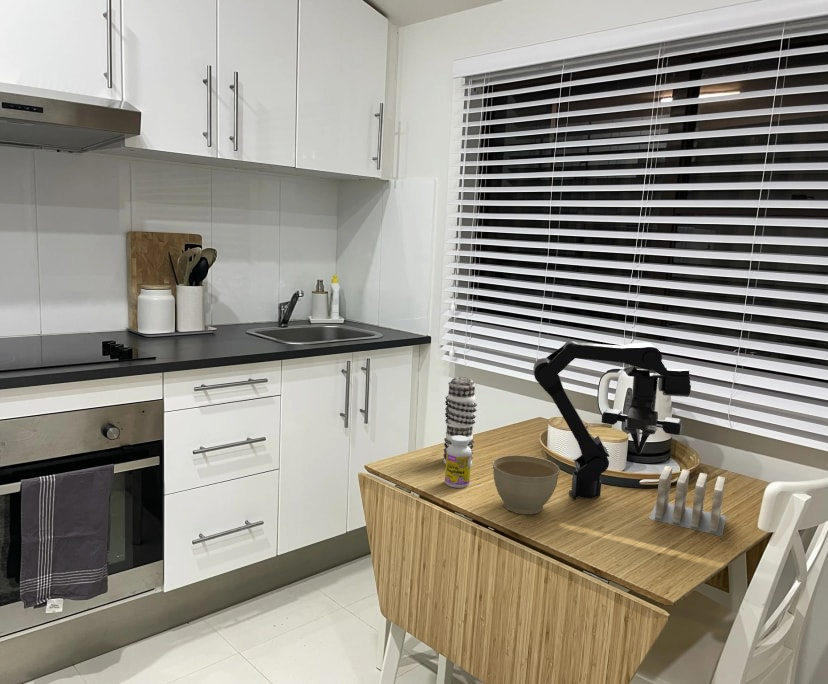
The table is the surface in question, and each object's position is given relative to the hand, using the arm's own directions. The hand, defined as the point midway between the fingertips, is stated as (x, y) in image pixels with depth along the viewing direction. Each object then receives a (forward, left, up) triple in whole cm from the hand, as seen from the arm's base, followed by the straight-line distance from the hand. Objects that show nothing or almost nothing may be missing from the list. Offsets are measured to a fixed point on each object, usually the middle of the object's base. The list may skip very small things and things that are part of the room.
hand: (638, 453), depth 166 cm
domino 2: (+7, -10, -12) cm, 17 cm away
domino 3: (+10, -12, -12) cm, 20 cm away
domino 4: (+13, -15, -12) cm, 23 cm away
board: (+8, -11, -13) cm, 19 cm away
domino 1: (+4, -8, -12) cm, 15 cm away
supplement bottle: (-44, +12, -13) cm, 47 cm away
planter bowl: (-30, -3, -13) cm, 33 cm away
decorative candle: (-41, +29, -13) cm, 52 cm away
